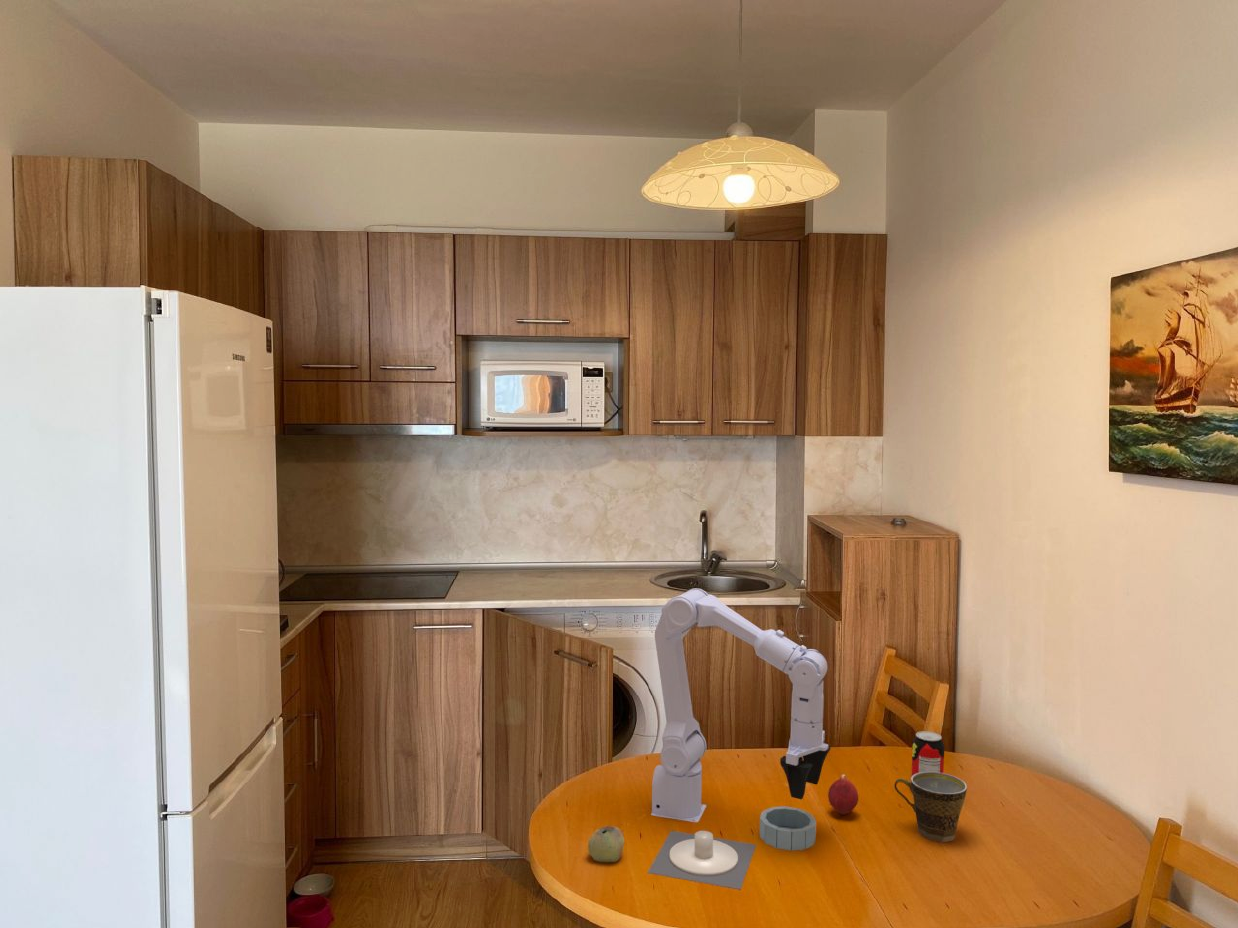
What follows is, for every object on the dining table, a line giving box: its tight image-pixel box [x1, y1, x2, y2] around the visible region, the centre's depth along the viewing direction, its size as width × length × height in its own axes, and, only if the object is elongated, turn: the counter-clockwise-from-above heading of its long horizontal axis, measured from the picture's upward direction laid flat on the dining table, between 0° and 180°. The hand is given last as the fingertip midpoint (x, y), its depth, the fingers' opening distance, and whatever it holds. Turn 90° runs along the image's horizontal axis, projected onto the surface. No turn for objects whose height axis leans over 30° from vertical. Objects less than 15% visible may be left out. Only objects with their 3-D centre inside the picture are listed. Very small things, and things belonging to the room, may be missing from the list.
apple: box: [587, 825, 625, 863], centre depth 158 cm, size 6×8×6 cm
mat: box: [647, 830, 757, 890], centre depth 158 cm, size 16×16×1 cm
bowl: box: [759, 805, 817, 852], centre depth 166 cm, size 10×10×4 cm
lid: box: [670, 830, 738, 876], centre depth 158 cm, size 12×12×4 cm
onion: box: [827, 774, 859, 816], centre depth 177 cm, size 6×6×8 cm
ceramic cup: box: [893, 772, 968, 843], centre depth 170 cm, size 13×10×10 cm
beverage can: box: [910, 730, 945, 778], centre depth 188 cm, size 6×6×12 cm
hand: (804, 789), depth 166 cm, fingers open, 7 cm apart
